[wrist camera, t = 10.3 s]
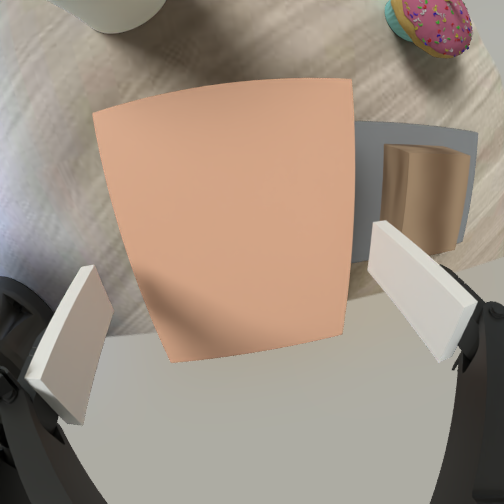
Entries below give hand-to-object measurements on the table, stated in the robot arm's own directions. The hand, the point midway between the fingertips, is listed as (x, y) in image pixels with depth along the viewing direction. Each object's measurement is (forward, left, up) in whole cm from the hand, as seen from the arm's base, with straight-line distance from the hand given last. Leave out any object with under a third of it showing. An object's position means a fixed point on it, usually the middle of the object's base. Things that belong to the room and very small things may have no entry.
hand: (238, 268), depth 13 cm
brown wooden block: (+18, -2, -13) cm, 22 cm away
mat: (+19, -2, -13) cm, 23 cm away
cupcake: (+18, +16, -13) cm, 28 cm away
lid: (0, 0, -5) cm, 5 cm away
